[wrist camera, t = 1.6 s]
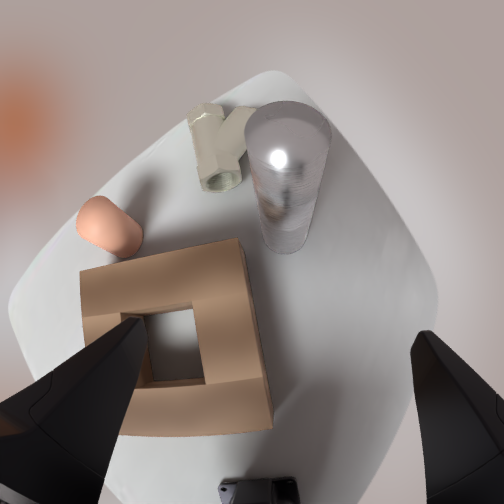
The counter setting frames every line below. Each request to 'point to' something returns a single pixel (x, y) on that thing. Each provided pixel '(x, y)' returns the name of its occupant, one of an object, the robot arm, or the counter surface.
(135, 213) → the counter surface
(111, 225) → the short terracotta pin
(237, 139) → the pipe fitting
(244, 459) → the counter surface
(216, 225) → the counter surface
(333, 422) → the counter surface
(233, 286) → the walnut block
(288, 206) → the tall metal pin
